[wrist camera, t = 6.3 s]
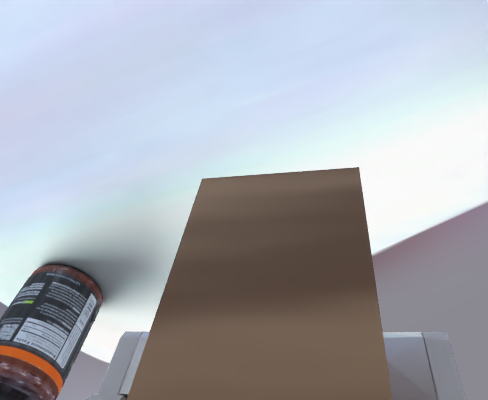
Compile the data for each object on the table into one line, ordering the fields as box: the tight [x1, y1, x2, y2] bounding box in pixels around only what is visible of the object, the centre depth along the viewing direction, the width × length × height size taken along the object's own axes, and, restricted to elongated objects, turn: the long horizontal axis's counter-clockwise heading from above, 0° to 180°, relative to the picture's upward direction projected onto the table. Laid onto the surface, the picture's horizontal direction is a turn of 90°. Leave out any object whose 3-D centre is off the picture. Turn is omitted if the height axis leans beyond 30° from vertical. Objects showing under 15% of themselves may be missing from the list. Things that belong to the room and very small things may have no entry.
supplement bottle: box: [0, 265, 103, 400], centre depth 30 cm, size 6×6×11 cm
